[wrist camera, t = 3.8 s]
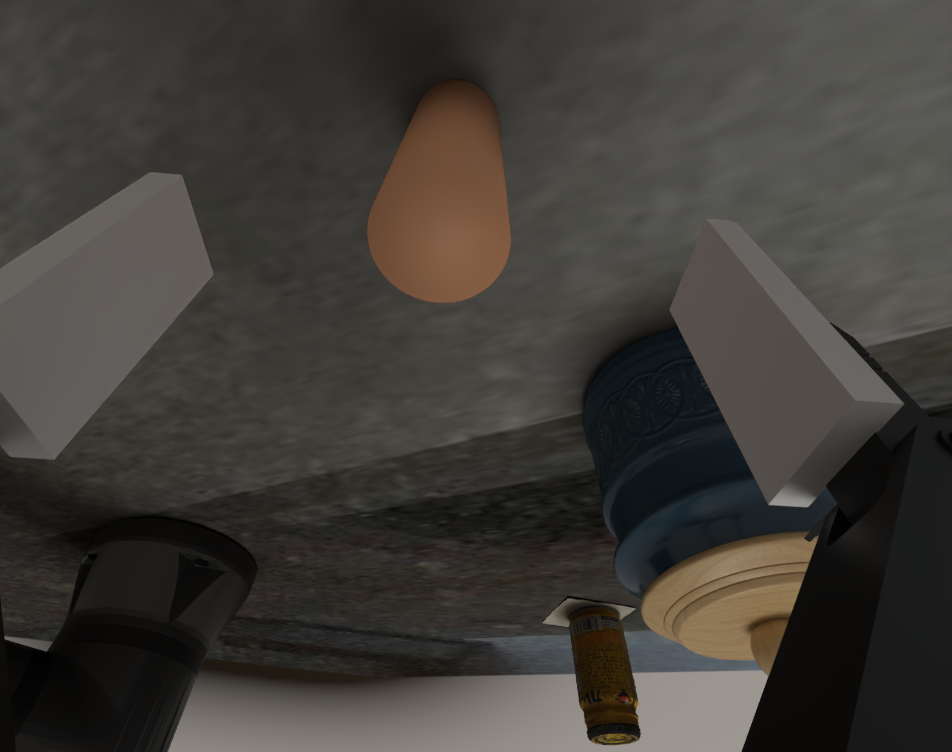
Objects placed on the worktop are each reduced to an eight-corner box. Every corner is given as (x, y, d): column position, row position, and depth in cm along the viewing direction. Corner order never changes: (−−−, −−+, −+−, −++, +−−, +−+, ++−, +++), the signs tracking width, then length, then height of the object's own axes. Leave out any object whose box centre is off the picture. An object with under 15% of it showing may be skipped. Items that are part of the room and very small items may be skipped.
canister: (556, 446, 37) (599, 718, 24) (619, 305, 29) (739, 602, 15) (713, 466, 39) (836, 734, 25) (815, 337, 30) (1081, 635, 17)
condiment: (605, 630, 60) (627, 751, 51) (541, 621, 58) (553, 743, 49) (635, 606, 55) (665, 733, 46) (567, 595, 53) (585, 724, 44)
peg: (414, 169, 24) (372, 298, 15) (413, 75, 21) (361, 160, 12) (494, 176, 24) (502, 307, 15) (503, 83, 21) (520, 174, 12)
